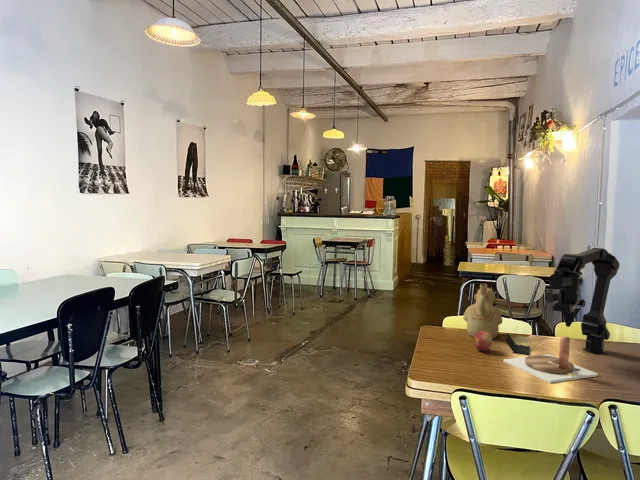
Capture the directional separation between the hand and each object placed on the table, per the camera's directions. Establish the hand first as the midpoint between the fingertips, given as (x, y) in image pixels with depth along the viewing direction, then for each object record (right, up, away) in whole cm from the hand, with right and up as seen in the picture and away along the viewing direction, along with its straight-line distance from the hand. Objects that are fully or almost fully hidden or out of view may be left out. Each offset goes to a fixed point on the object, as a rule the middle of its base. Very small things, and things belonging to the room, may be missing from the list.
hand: (567, 326), depth 178 cm
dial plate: (-12, -14, -10) cm, 21 cm away
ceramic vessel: (-22, -10, +32) cm, 41 cm away
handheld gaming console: (-15, -12, +12) cm, 22 cm away
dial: (-12, -13, -10) cm, 20 cm away
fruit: (-30, -12, +9) cm, 34 cm away
